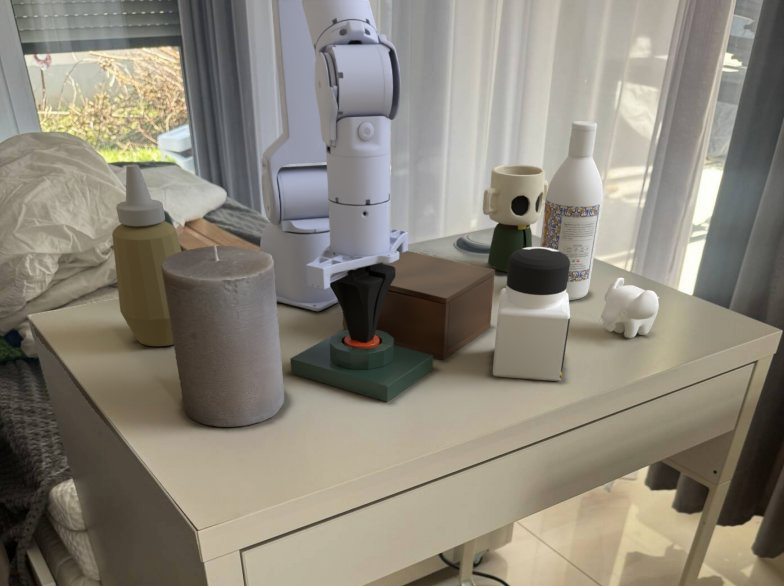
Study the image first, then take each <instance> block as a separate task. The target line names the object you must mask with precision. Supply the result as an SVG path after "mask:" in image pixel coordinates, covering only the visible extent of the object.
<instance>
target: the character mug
mask: <svg viewBox="0 0 784 586" xmlns="http://www.w3.org/2000/svg"><path fill="white" fill-rule="evenodd" d="M548 188H549V182H548V180H547V179H546V170H545V169H544V168H541V167H538V166H533V165H527V164H502V165H501V164H500V165H496V166H494V167H492V169H491V175H490V187H488V188H486V189H485V190H484V191H483V198H482V199H483V200H482V213H483V215H485V216H488V217H489V219H490V220H491V221H493V222H495V223H497V224H496V225H495V227H494V229H493V233H492V238H491V243H490V247H489V253H488V258H487V264H488V265H489V266H491V267H492V268H494V269H495V270H498V271H499V272H506V273H508V263H509V257H510V256H511V255H512V253H514V252H515V251H518V250H520V249H523V248H527V247H533V235H532V234H533V232H532V228H531V225H534V224H536V223H537V222H538V221H539V219H540V218H541V215H542V211H543V206H545V201H546V195H547V191H548Z"/></svg>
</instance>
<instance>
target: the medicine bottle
mask: <svg viewBox="0 0 784 586" xmlns="http://www.w3.org/2000/svg"><path fill="white" fill-rule="evenodd" d="M569 267H570V260H569V258H568V257H567V256H566V255H565V254H563V253H561V252H560V251H558V250H555V249H551V248H546V247H540V246H532V247H527V248H523V249H520V250H518V251H515V252H514V253H512V255H511V256H510V257H509V263H508V272H507V275H506V287H504V288H501V290H500V294H499V301H498V309H497V319H496V331H495V343H494V353H493V364H492V375H493V376H494V377H498V378H499V377H501V378H512V379H524V380H537V381H551V382H559V381H561V379H562V376H563V369H564V362H565V356H566V348H567V343H568V337H569V328H570V323H571V322H570V321H571V309H570V300H569V297H568V293H567V292H566V288H567V281H568V274H569Z"/></svg>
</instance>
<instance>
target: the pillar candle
mask: <svg viewBox="0 0 784 586" xmlns="http://www.w3.org/2000/svg"><path fill="white" fill-rule="evenodd" d="M181 251H182V252H178V253H175V254H173V255H171V256H169V257H168V258H166V259H165V260H164V261H163V263H162V265H161V268H162V274H163V280H164V287H165V293H166V299H167V304H168V311H169V316H170V323H171V329H172V335H173V343H174V344H173V349H174V354H175V361H176V367H177V373H178V379H179V385H180V391H181V400H182V405H183V410H184V412H185V413H186V415H187V416H188V417H189V418H190V419H191V420H194V421H196V422H197V423H200V424H203V425H207V426H214V427H220V428H234V427H245V426H249V425H254V424H256V423H257V424H258V423H261V422H265V421H266V420H268V419H271V418H272V417H274V416H276V415H277V414H278V412H279V411H280V409H281V408H282V407H283V405H284V403H285V390H284V389H285V388H284V375H283V361H282V351H281V339H280V326H279V315H278V304H277V303H278V301H277V300H276V291H275V276H274V267H273V265H274V263H273V262H274V261H273V259H272V257H273V256H271V255H270V254H268V253H263V252H262V251H260V250H259V249H255V248H250V247H245V246H235V245H217V244H214V245H211V246H201V247H196V248H189V249H186V250H181Z"/></svg>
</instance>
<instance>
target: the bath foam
mask: <svg viewBox="0 0 784 586" xmlns="http://www.w3.org/2000/svg"><path fill="white" fill-rule="evenodd" d="M597 130H598V123H597V122H595V121H589V120H576V121H572V123H571V132H570V138H569V144H568V152H567V153H568V155H567V156H566V158H565V159H564V160H563V162H562V163H561V165H560V166H559V167H558V168H557V170H556V172H555V173H554V175H552V177H551V180H550V183H549V184H548V191H547V195H546V201H545V204H544V210H543V218H542V219H543V220H542V225H541V226H542V227H541V234H540V235H541V236H540V244H539V247H546V248H551V249H555V250H558V251H560V252H561V253H563V254H565V255H566V256H567V257H568V258H569V260H570V267H569V274H568V281H567V288H566V292H567V293H568V297H569V301H575V300H579V299H583V298H584V297H585V296H587V295H588V293H589V290H590V285H591V278H592V271H593V266H594V265H593V264H594V259H595V253H596V246H597V241H598V235H599V228H600V221H601V216H602V215H601V214H602V209H603V201H604V186H603V181H602V177H601V174H600V172H599V170H598V167H597V164H596V162H595V160H594V151H595V143H596V137H597Z"/></svg>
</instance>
